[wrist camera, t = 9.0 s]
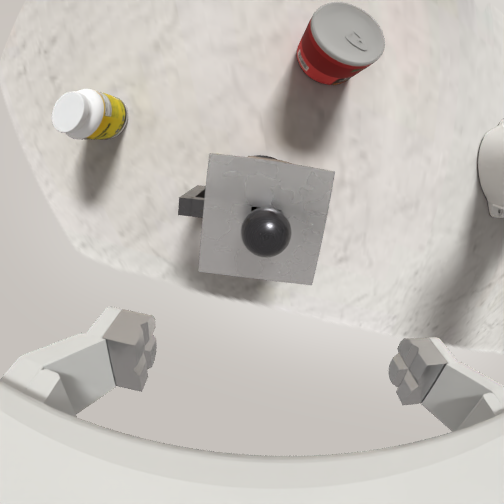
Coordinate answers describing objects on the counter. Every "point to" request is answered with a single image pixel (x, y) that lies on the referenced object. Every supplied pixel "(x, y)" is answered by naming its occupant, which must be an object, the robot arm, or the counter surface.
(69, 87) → the counter surface
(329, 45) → the canned food
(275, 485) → the robot arm
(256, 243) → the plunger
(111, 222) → the counter surface
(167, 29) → the counter surface
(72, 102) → the pill bottle
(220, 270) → the cafetiere
